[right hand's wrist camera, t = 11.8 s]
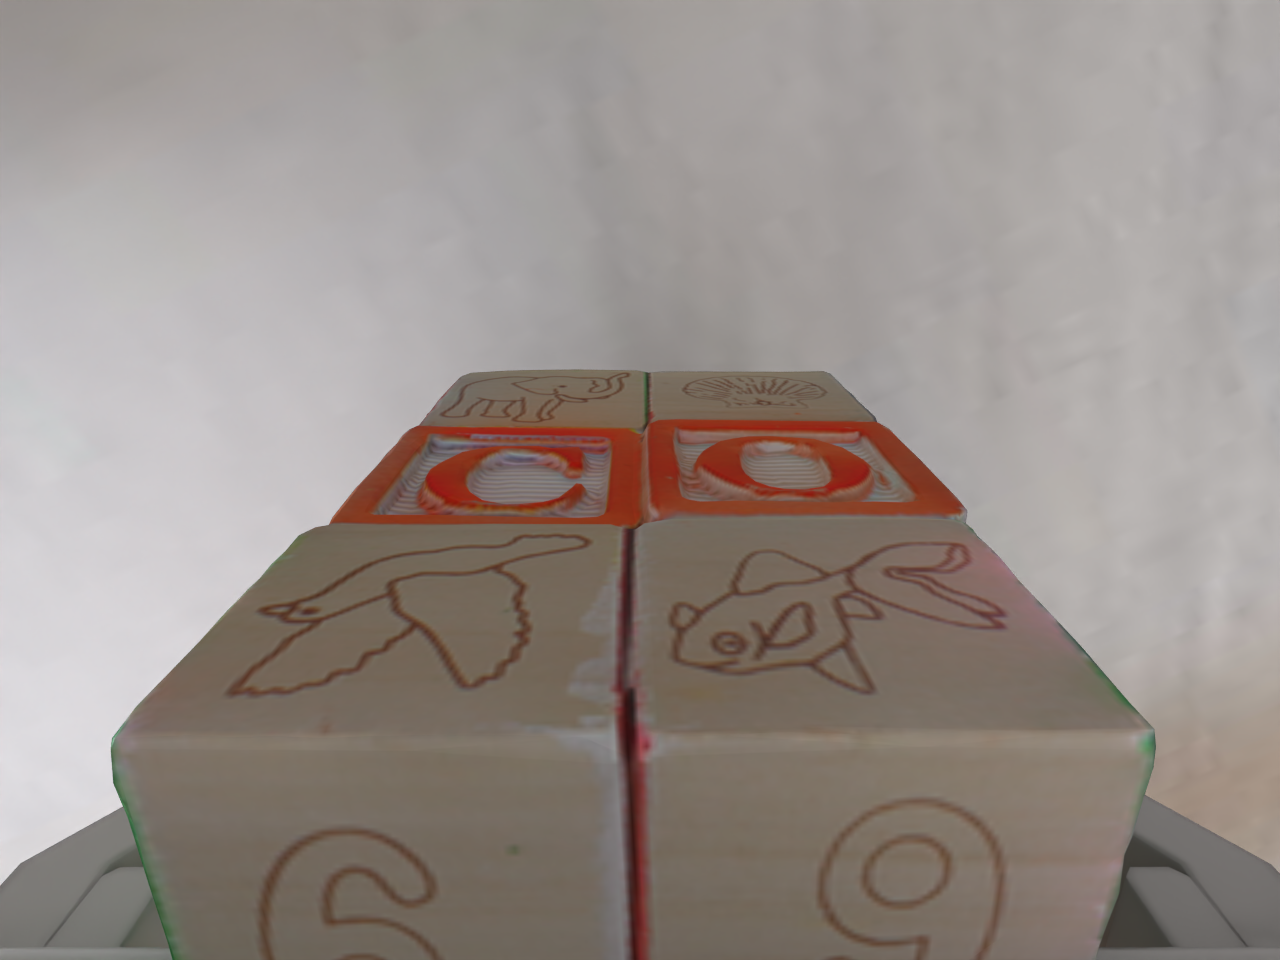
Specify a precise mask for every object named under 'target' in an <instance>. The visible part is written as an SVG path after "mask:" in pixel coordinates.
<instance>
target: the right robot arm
mask: <svg viewBox="0 0 1280 960" xmlns="http://www.w3.org/2000/svg"><path fill="white" fill-rule="evenodd" d="M0 960H172V956H171V953H170V949H169V945H168V942H167V939H166V936H165V933H164V930H163V927H162V924H161V921H160V917H159V914H158V911H157V908H156V905H155V902H154V899H153V896H152V893H151V890H150V887H149V884H148V881H147V877H146V874H145V871H144V868H143V865H142V862H141V858H140V855H139V852H138V849H137V846H136V842H135V839H134V836H133V833H132V830H131V827H130V823H129V820H128V817H127V815H126V812H125V810H124V807H121V808H120V809H118V810H116V811H114V812H112V813H111V814H109V815H107V816H105V817H103V818H102V819H100V820H98V821H96V822H94V823H93V824H91V825H89V826H87V827H85V828H84V829H82V830H80V831H78V832H76V833H75V834H73V835H71V836H69V837H67V838H66V839H64V840H62V841H60V842H58V843H57V844H55V845H53V846H51V847H49V848H48V849H46V850H44V851H42V852H40V853H39V854H37V855H35V856H33V857H31V858H30V859H28V860H26V861H24V862H22V863H21V864H20V865H19V866H18V867H17V868H16V869H15V870H14V871H13V872H12V874H11V875H10V876H9V877H8V878H7V879H6V880H5V881H4V882H3V883H2V885H1V886H0ZM1096 960H1280V873H1279V872H1278V871H1277V870H1276V869H1275V868H1274V867H1273V866H1272V865H1271V864H1269V863H1267V862H1266V861H1264V860H1262V859H1260V858H1258V857H1257V856H1255V855H1253V854H1251V853H1249V852H1247V851H1246V850H1244V849H1242V848H1240V847H1238V846H1237V845H1235V844H1233V843H1231V842H1229V841H1228V840H1226V839H1224V838H1222V837H1220V836H1218V835H1217V834H1215V833H1213V832H1211V831H1209V830H1208V829H1206V828H1204V827H1202V826H1200V825H1199V824H1197V823H1195V822H1193V821H1191V820H1189V819H1188V818H1186V817H1184V816H1182V815H1180V814H1179V813H1177V812H1175V811H1173V810H1171V809H1170V808H1168V807H1166V806H1164V805H1162V804H1160V803H1159V802H1157V801H1155V800H1153V799H1151V798H1150V797H1148V796H1146V795H1144V798H1143V801H1142V804H1141V808H1140V811H1139V815H1138V818H1137V822H1136V825H1135V828H1134V832H1133V835H1132V838H1131V841H1130V843H1129V845H1128V848H1127V850H1126V852H1125V854H1124V861H1123V868H1122V875H1121V883H1120V890H1119V895H1118V898H1117V900H1116V903H1115V905H1114V908H1113V911H1112V913H1111V916H1110V918H1109V921H1108V924H1107V926H1106V929H1105V931H1104V934H1103V937H1102V940H1101V943H1100V946H1099V949H1098V953H1097V958H1096Z"/></svg>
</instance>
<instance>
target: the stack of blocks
mask: <svg viewBox="0 0 1280 960" xmlns="http://www.w3.org/2000/svg"><path fill="white" fill-rule="evenodd" d="M966 517H967V510H966V509H965V507H964V506H963V505H962V504H961V502H960V501H959V500H958V499H957V497H956V496H955V495H954V494H953V493H952V492H951V491H950V490H949V489H948V488H947V487H946V486H945V485H944V484H943V483H942V482H941V481H940V480H939V479H938V478H937V477H936V476H935V475H934V474H933V473H932V472H931V471H930V470H929V469H928V468H927V466H926V465H925V464H924V463H923V462H922V461H921V460H920V459H919V458H918V457H917V456H916V455H915V454H914V453H913V452H912V451H910V450H909V449H908V448H907V447H906V446H905V445H904V444H903V443H902V442H901V441H900V440H899V439H898V438H897V437H896V436H895V435H894V434H893V433H892V432H891V430H890V429H889V428H887V427H885V426H883V425H881V424H879V423H877V421H876V418H875V417H874V416H873V415H872V414H871V413H870V412H869V411H868V410H867V409H866V408H865V407H864V406H863V405H862V404H860V403H859V402H858V401H857V400H856V398H855V397H854V396H853V395H852V394H851V393H850V392H848V391H847V390H846V389H845V388H844V387H843V386H842V385H841V384H840V383H839V382H838V381H837V380H836V379H835V378H834V377H833V376H832V375H831V374H829V373H826V372H824V371H816V372H663V371H662V372H652V373H647V372H641V371H628V370H519V371H495V372H479V373H469V374H467V375H464V376H462V377H460V378H459V379H458V380H457V381H456V382H455V383H454V384H453V385H452V386H451V387H450V388H449V389H448V390H447V392H446V393H445V394H444V395H443V396H442V397H441V398H440V399H439V401H438V402H437V403H436V405H435V406H434V407H433V409H432V410H431V411H430V412H429V413H428V414H427V416H426V418H425V419H424V420H423V421H422V422H421V424H420V425H419V426H416V427H414V428H412V429H410V430H408V431H407V432H406V433H405V434H404V435H403V436H402V437H401V438H400V440H399V441H398V443H397V444H396V445H395V446H394V447H393V448H392V449H391V450H390V451H389V452H388V453H387V454H386V455H385V457H384V458H383V459H382V460H381V462H380V463H379V464H378V465H377V466H376V468H375V469H374V470H373V471H372V472H371V473H370V474H369V475H368V476H367V477H366V478H365V479H364V480H363V481H362V482H361V483H360V484H359V485H358V486H357V487H356V489H355V490H354V491H353V492H352V494H351V495H350V496H349V497H348V499H347V500H346V501H345V502H344V504H343V505H342V506H341V507H340V509H339V510H338V511H337V512H336V514H335V515H334V516H333V518H332V520H331V522H330V524H329V525H327V526H321V527H315V528H313V529H311V530H309V531H307V532H305V533H303V534H301V535H299V536H298V537H297V538H296V539H295V541H294V542H293V543H292V544H291V545H290V547H289V548H288V549H287V550H286V551H285V552H284V553H283V554H282V555H281V556H280V557H279V558H278V559H277V560H276V561H275V562H273V563H272V564H271V566H270V567H269V568H268V569H267V570H266V572H265V573H264V574H263V575H262V576H261V578H260V579H259V580H258V581H256V582H255V583H254V584H253V585H252V586H251V587H250V588H249V589H248V590H247V591H246V592H245V593H244V594H243V595H242V596H241V598H240V599H239V600H238V601H237V602H236V603H235V604H234V605H232V606H231V607H230V608H229V609H228V610H227V612H226V613H225V614H224V615H223V616H222V617H221V618H220V619H219V620H218V622H217V623H216V624H215V625H214V626H213V627H212V628H211V629H210V631H209V632H208V633H207V634H206V635H205V636H204V637H203V638H202V639H201V641H200V642H199V643H198V644H197V645H196V646H195V647H194V648H193V649H192V650H191V651H190V652H189V653H188V654H187V655H186V656H185V657H184V658H183V659H182V660H181V661H180V662H179V663H178V664H177V665H176V666H175V667H174V668H173V669H172V671H171V672H170V673H169V674H168V675H167V676H166V677H165V678H164V679H163V680H162V681H161V682H160V683H159V684H158V685H157V686H156V687H155V688H154V689H153V690H152V691H151V692H150V693H149V694H148V695H147V696H146V697H145V698H144V699H143V700H142V701H141V702H140V703H139V704H138V706H137V707H136V708H135V709H134V710H133V712H132V713H131V714H130V716H129V717H128V718H127V719H126V721H125V722H124V723H123V725H122V726H121V727H120V729H119V730H118V731H117V733H116V734H115V735H114V736H113V738H112V743H111V758H112V771H113V783H114V786H115V788H116V791H117V793H118V795H119V798H120V800H121V803H122V805H123V807H124V810H125V812H126V815H127V817H128V820H129V823H130V827H131V830H132V833H133V836H134V839H135V842H136V846H137V849H138V852H139V855H140V858H141V862H142V865H143V868H144V871H145V874H146V877H147V881H148V884H149V887H150V890H151V893H152V896H153V899H154V902H155V905H156V908H157V911H158V914H159V917H160V921H161V924H162V927H163V930H164V933H165V936H166V939H167V942H168V945H169V949H170V953H171V956H172V960H1096V958H1097V953H1098V949H1099V946H1100V943H1101V940H1102V937H1103V934H1104V931H1105V929H1106V926H1107V924H1108V921H1109V918H1110V916H1111V913H1112V911H1113V908H1114V905H1115V903H1116V900H1117V898H1118V895H1119V890H1120V883H1121V875H1122V868H1123V861H1124V854H1125V852H1126V850H1127V848H1128V845H1129V843H1130V841H1131V838H1132V835H1133V832H1134V828H1135V825H1136V822H1137V818H1138V815H1139V811H1140V808H1141V804H1142V801H1143V798H1144V795H1145V792H1146V788H1147V785H1148V782H1149V779H1150V776H1151V773H1152V770H1153V766H1154V758H1155V750H1156V743H1155V732H1154V728H1153V727H1152V726H1151V725H1150V724H1149V723H1148V722H1147V721H1146V720H1145V719H1144V718H1143V717H1142V715H1141V714H1140V713H1139V712H1138V711H1137V710H1136V709H1135V708H1134V707H1133V706H1132V705H1131V704H1130V703H1129V702H1128V700H1127V699H1126V698H1125V697H1124V696H1123V695H1122V693H1121V692H1120V691H1119V690H1118V689H1117V688H1116V686H1115V685H1114V684H1113V683H1112V682H1111V681H1110V680H1109V678H1108V677H1107V676H1106V675H1105V674H1104V673H1103V671H1102V670H1101V669H1100V668H1099V667H1098V666H1097V664H1096V663H1095V662H1094V661H1093V660H1092V659H1091V657H1090V656H1089V655H1088V654H1087V653H1086V652H1085V650H1084V649H1083V648H1082V647H1081V646H1080V645H1079V644H1078V643H1077V641H1076V640H1075V639H1074V638H1073V637H1072V636H1071V635H1070V634H1069V633H1068V632H1067V631H1066V630H1065V629H1064V628H1063V627H1062V625H1061V624H1060V623H1059V622H1058V621H1057V620H1056V619H1055V618H1054V617H1053V616H1052V615H1051V614H1050V613H1049V612H1048V611H1047V610H1046V609H1045V608H1044V606H1043V605H1042V604H1041V603H1040V602H1039V601H1038V600H1037V599H1036V598H1035V597H1034V596H1033V595H1032V594H1031V593H1030V592H1029V591H1028V590H1027V589H1026V588H1025V587H1024V586H1023V585H1022V583H1021V582H1020V581H1019V580H1018V579H1017V578H1016V577H1015V575H1014V574H1013V573H1012V572H1011V570H1010V569H1009V568H1008V567H1007V566H1006V564H1005V563H1004V562H1003V561H1002V559H1001V558H1000V557H999V556H998V555H997V554H996V553H995V552H994V551H993V550H992V549H991V548H990V547H989V546H988V545H987V544H986V543H985V542H983V541H982V540H981V539H980V538H979V537H978V536H977V535H976V534H975V532H974V531H973V529H972V528H970V527H969V526H968V525H967V524H966Z"/></svg>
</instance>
